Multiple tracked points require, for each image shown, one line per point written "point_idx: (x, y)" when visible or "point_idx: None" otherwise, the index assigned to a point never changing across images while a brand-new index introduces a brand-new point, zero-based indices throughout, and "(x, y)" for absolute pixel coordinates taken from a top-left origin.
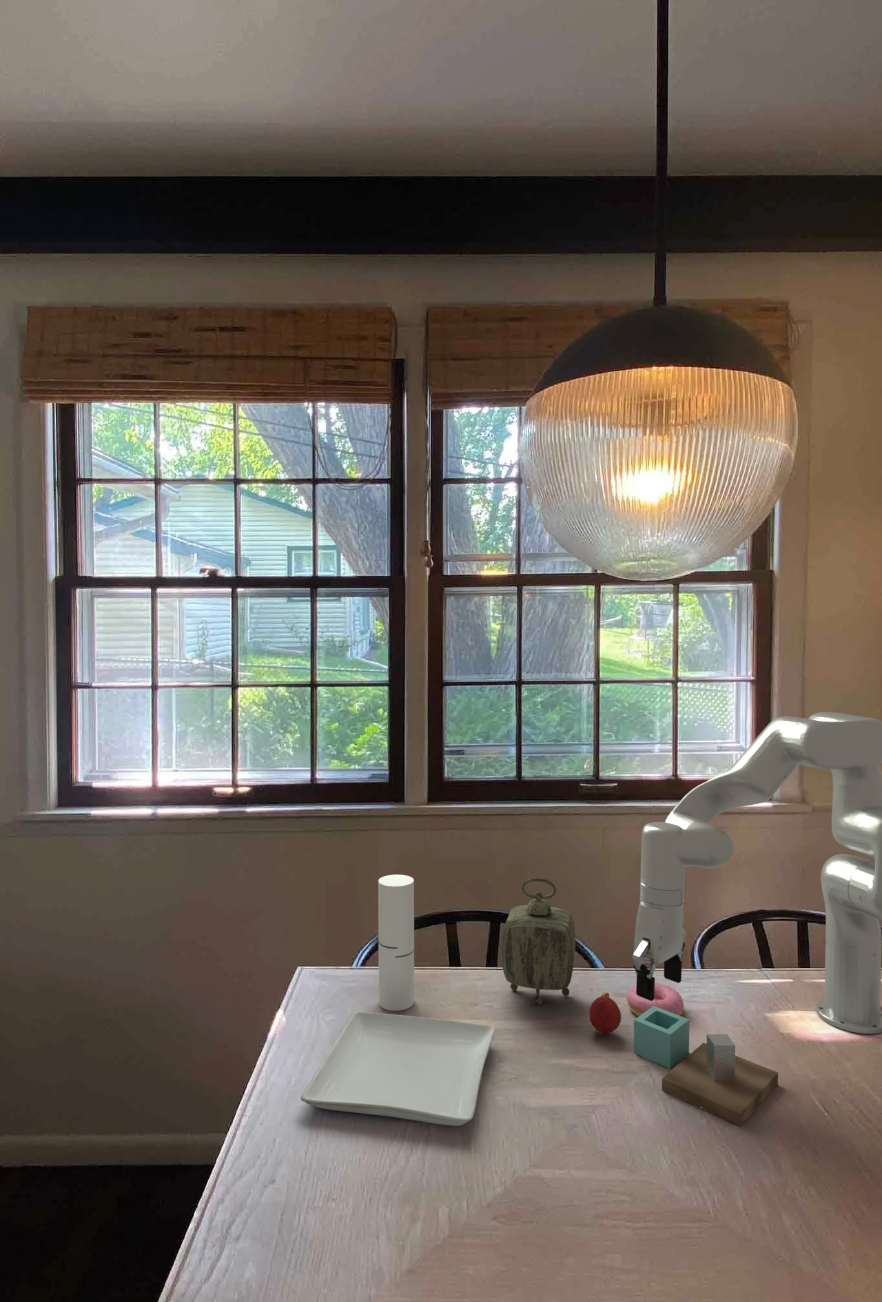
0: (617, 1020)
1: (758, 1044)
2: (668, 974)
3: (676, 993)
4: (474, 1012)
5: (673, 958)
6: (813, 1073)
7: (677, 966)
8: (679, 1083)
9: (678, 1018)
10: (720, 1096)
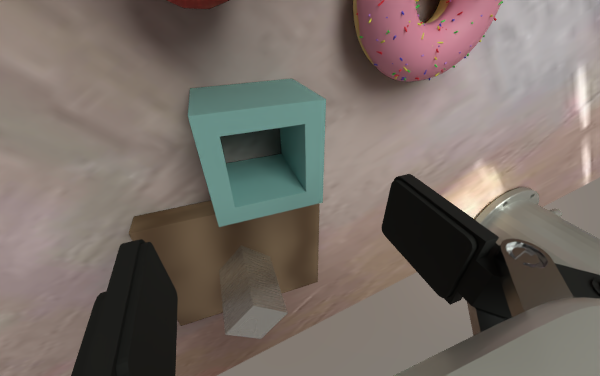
0: (193, 7)
1: None
2: (402, 209)
3: (468, 48)
4: None
5: (469, 284)
6: (362, 267)
7: (429, 277)
8: None
9: (309, 186)
10: (191, 296)
